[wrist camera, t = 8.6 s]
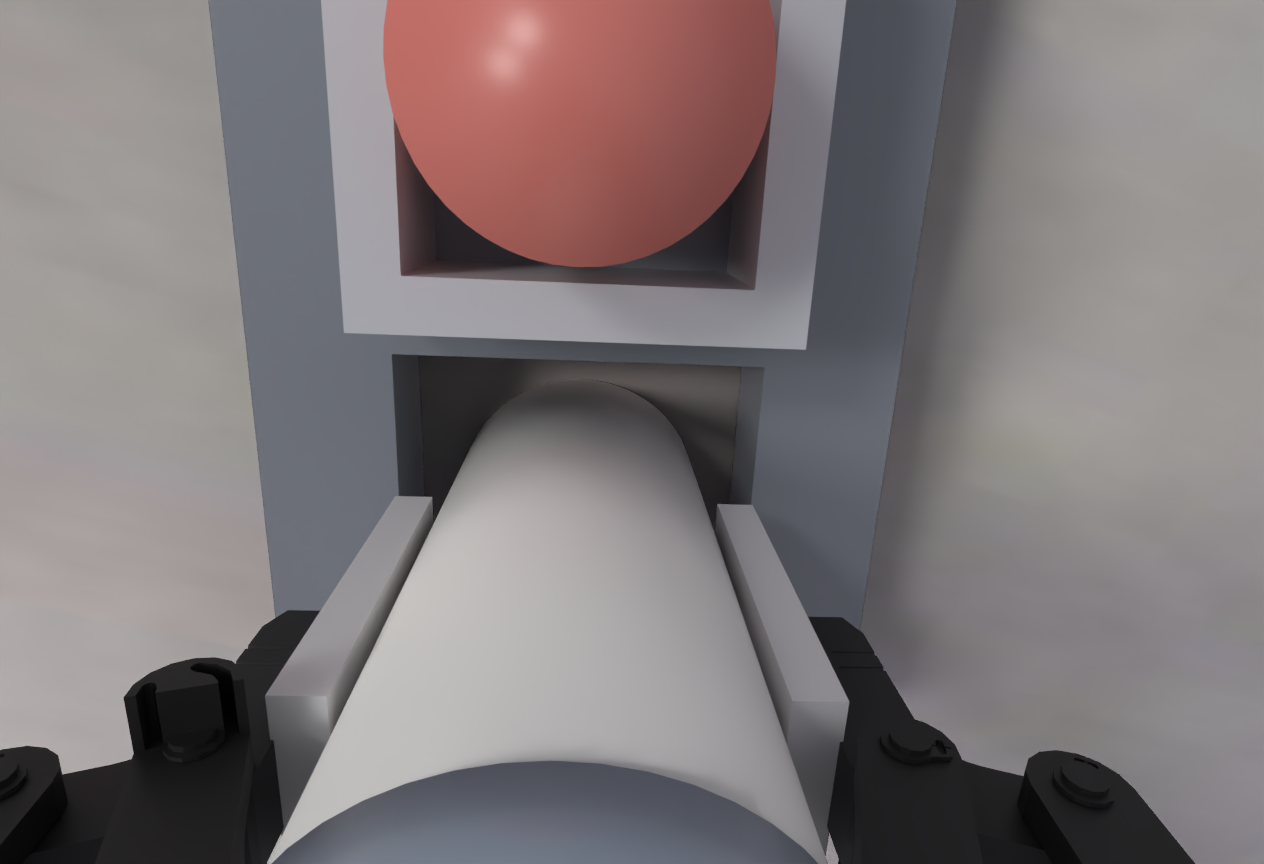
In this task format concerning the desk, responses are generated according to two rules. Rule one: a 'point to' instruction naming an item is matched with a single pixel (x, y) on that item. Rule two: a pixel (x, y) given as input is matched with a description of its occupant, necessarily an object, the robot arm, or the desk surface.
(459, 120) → the plunger
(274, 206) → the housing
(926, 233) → the desk surface
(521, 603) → the cartridge
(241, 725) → the robot arm
